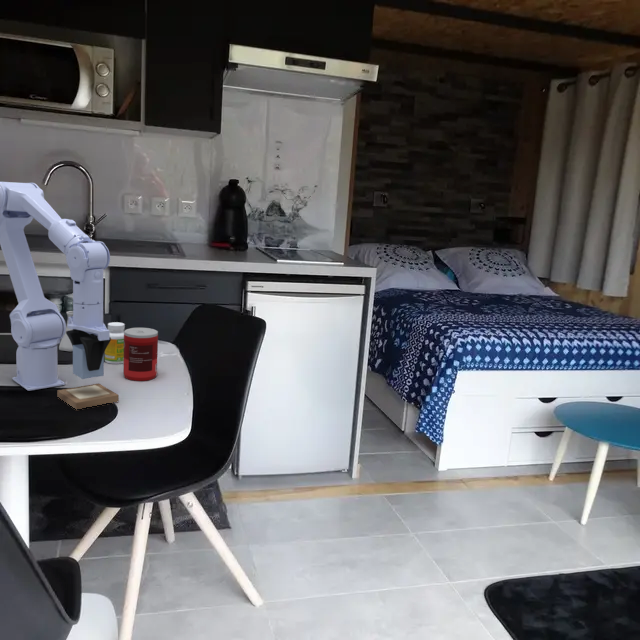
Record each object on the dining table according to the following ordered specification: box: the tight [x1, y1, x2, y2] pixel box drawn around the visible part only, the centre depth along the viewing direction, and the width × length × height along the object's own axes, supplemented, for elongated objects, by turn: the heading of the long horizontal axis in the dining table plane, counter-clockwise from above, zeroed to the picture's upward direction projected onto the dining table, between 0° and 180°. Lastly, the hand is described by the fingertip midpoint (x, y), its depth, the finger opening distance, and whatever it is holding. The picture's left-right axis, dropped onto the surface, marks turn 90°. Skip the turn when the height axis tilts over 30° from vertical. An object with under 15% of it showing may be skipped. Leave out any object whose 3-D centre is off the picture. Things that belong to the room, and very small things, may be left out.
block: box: [72, 344, 105, 380], centre depth 130 cm, size 4×4×6 cm
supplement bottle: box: [104, 321, 126, 365], centre depth 159 cm, size 5×5×10 cm
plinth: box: [56, 383, 120, 411], centre depth 132 cm, size 9×9×2 cm
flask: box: [58, 310, 73, 352], centre depth 167 cm, size 7×7×10 cm
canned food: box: [122, 327, 159, 382], centre depth 149 cm, size 8×8×11 cm
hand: (88, 366), depth 130 cm, fingers closed on block, 4 cm apart
